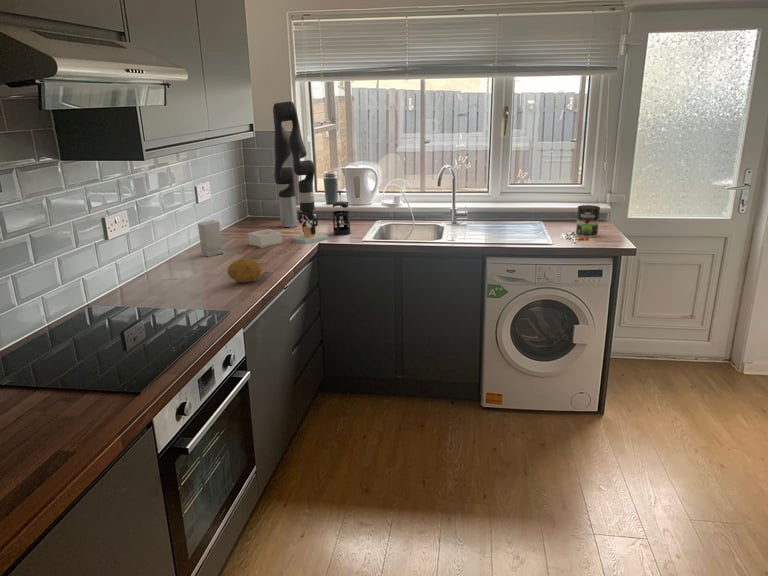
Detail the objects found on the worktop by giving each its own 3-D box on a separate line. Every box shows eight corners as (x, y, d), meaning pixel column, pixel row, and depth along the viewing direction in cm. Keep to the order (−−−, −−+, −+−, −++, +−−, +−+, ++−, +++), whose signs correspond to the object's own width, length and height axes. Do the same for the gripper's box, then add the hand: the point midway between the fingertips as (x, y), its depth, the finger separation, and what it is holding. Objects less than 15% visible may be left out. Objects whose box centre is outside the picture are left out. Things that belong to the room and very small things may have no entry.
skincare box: (217, 251, 277) (213, 219, 272) (224, 253, 272) (220, 221, 268) (201, 255, 271) (196, 222, 267) (208, 257, 267) (203, 224, 262)
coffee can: (597, 237, 278) (599, 209, 274) (574, 236, 282) (576, 208, 278) (598, 233, 287) (600, 205, 283) (576, 232, 291) (578, 204, 287)
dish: (249, 244, 289) (248, 233, 287) (270, 240, 296) (269, 229, 295) (261, 248, 280) (260, 236, 279) (282, 244, 288) (281, 232, 286)
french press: (346, 237, 298) (343, 192, 291) (329, 236, 302) (327, 192, 295) (354, 232, 309) (352, 189, 302) (338, 231, 312) (336, 189, 305)
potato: (226, 281, 228) (223, 258, 225) (259, 276, 233) (257, 254, 231) (231, 287, 220) (228, 264, 217) (265, 282, 225) (263, 259, 222)
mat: (285, 240, 297) (285, 239, 296) (314, 234, 308) (314, 233, 308) (304, 245, 284) (304, 244, 283) (334, 239, 295) (334, 238, 295)
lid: (290, 238, 296) (289, 227, 294) (313, 234, 305) (312, 222, 303) (305, 243, 286) (304, 230, 284) (328, 238, 295) (327, 226, 293)
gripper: (292, 200, 292) (295, 232, 297) (308, 203, 282) (310, 236, 287) (305, 198, 297) (307, 230, 302) (321, 201, 287) (323, 233, 292)
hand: (309, 233), depth 295 cm, fingers open, 7 cm apart
